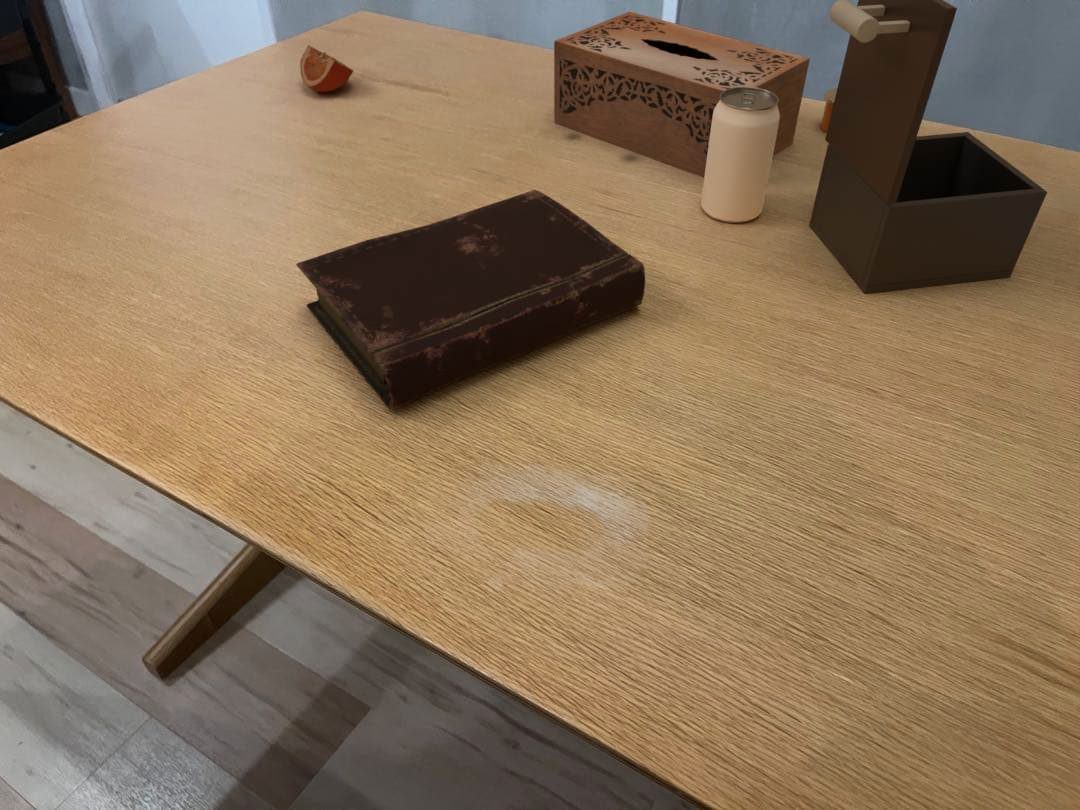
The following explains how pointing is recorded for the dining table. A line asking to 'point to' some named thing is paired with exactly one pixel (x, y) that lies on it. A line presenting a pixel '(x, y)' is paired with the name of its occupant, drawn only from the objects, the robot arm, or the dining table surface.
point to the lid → (886, 83)
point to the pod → (828, 108)
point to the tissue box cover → (665, 85)
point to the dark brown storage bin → (928, 217)
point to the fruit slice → (322, 71)
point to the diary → (468, 292)
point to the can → (740, 154)
